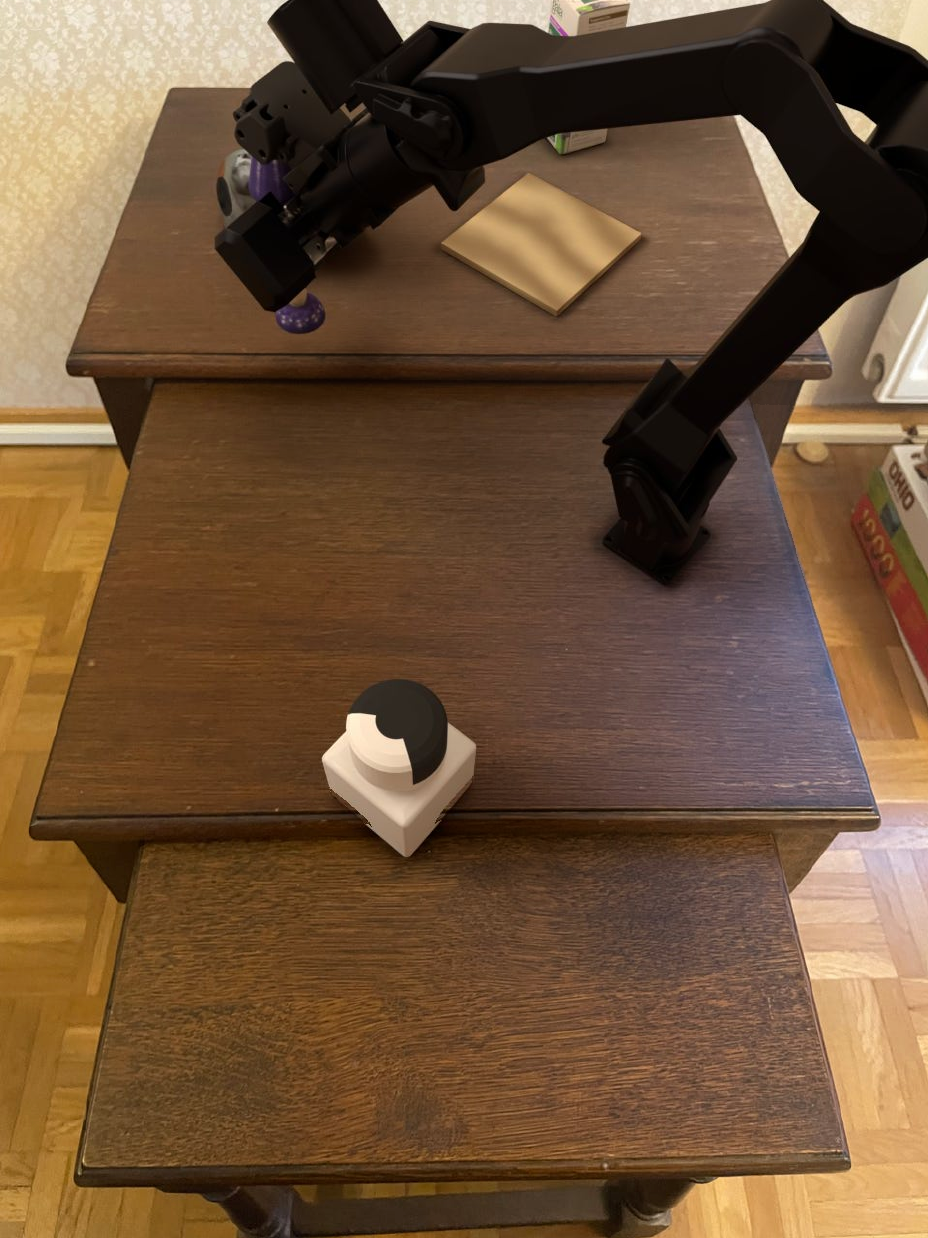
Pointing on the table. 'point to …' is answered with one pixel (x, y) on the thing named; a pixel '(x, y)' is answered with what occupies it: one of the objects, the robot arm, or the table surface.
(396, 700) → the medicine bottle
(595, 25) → the syrup box
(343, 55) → the robot arm
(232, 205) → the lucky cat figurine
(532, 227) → the mat
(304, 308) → the toy lamp
